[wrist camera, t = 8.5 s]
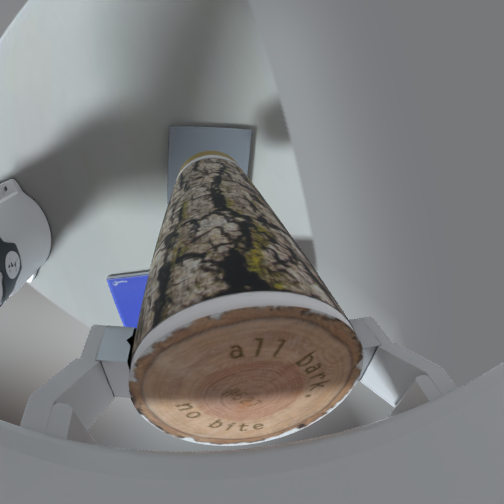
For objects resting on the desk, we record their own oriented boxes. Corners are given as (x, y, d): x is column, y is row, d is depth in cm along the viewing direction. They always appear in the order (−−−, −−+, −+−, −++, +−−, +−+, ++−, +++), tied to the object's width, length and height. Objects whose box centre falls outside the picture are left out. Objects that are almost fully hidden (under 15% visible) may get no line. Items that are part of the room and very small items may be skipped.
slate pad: (168, 202, 40) (167, 204, 39) (170, 126, 35) (169, 126, 34) (243, 203, 42) (244, 205, 41) (250, 129, 37) (251, 129, 36)
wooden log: (214, 135, 27) (287, 241, 5) (255, 184, 30) (388, 377, 8) (164, 179, 28) (83, 391, 6) (206, 224, 31) (235, 458, 9)
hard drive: (105, 279, 42) (127, 335, 48) (151, 274, 43) (168, 331, 49) (108, 274, 44) (128, 329, 50) (153, 269, 45) (168, 326, 51)
